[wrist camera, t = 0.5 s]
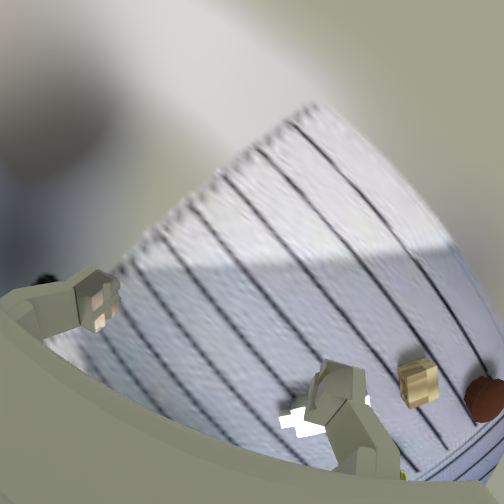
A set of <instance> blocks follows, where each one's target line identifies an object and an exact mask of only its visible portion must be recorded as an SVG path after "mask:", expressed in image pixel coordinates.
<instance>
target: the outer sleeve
mask: <svg viewBox="0 0 504 504" xmlns="http://www.w3.org/2000/svg"><path fill="white" fill-rule="evenodd" d="M307 395H308V394H307ZM307 395H302V396H297V397H293V398H291V414H292V417H293V421H294V425H295V429H296V433H297V436H298V437H304V436H309V435H314V434H318V433H323V432H326V431H325V429H324V427H323V426H319V425H316V424H312V423H309V422H306V421H303V417H304V411H305V406H306V405H307V403H308V402H309V399H308V397H307Z"/></svg>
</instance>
